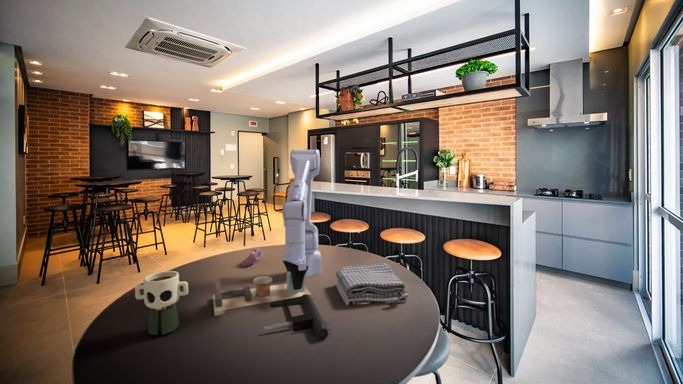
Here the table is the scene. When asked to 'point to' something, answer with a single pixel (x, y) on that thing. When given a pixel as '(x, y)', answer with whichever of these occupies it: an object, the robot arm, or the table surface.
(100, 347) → the table surface
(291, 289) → the pale blue block
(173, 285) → the character mug
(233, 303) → the winding board
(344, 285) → the towel
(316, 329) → the door handle
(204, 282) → the table surface
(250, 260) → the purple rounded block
